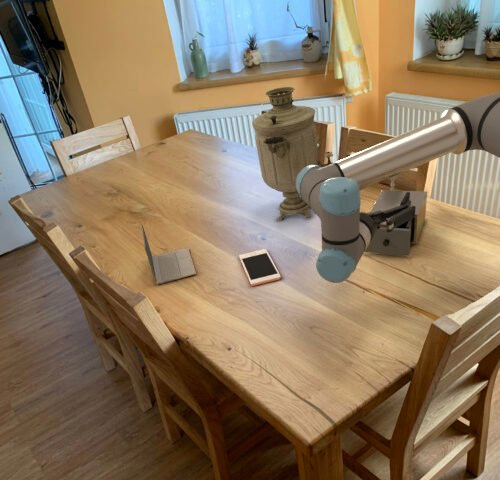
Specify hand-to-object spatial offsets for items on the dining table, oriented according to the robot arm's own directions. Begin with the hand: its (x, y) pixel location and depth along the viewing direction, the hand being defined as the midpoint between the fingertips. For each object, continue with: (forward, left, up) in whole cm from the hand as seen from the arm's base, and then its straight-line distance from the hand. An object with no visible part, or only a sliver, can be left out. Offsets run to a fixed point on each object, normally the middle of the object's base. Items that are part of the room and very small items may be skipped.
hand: (380, 195), depth 123 cm
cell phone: (+21, +28, -23) cm, 42 cm away
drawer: (+11, -11, -22) cm, 26 cm away
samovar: (+47, +2, -23) cm, 53 cm away
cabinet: (+17, -17, -22) cm, 33 cm away
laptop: (+38, +51, -23) cm, 67 cm away
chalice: (+34, -26, -23) cm, 49 cm away
